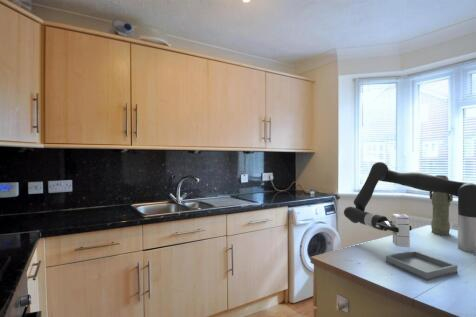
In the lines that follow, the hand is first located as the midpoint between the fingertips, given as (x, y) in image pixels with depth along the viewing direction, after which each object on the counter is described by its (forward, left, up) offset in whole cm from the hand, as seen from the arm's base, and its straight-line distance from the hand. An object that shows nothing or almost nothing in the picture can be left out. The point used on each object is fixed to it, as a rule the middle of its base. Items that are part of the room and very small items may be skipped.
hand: (404, 229), depth 126 cm
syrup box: (0, -2, -8) cm, 9 cm away
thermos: (-53, -18, -13) cm, 58 cm away
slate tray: (+6, +12, -13) cm, 18 cm away
